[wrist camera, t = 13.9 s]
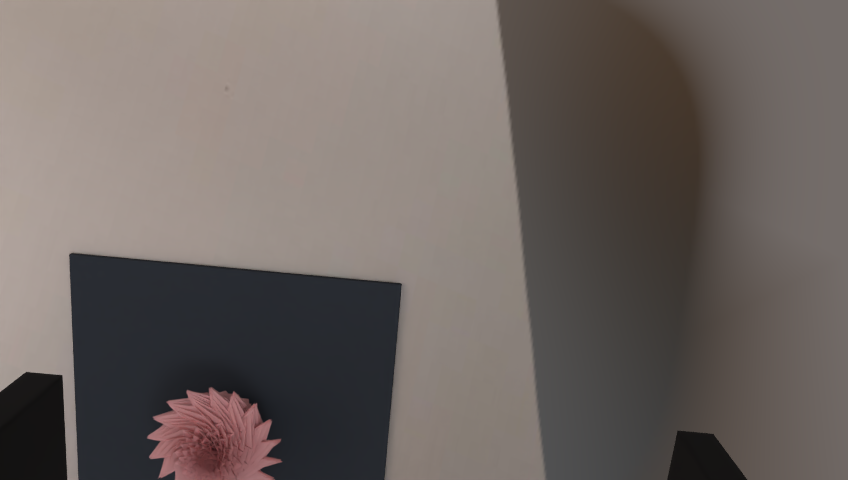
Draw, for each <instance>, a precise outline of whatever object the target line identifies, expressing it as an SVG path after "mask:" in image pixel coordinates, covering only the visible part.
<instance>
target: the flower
mask: <svg viewBox="0 0 848 480" xmlns="http://www.w3.org/2000/svg"><path fill="white" fill-rule="evenodd" d="M187 395H188V398H184V399H176V400H168V401H167V403H168V405H169V406H170V407H171V408H172V409H173V411H170V412H166V413H163V414H160V415H157V416H154V417H153V418H154V420H156V421H158V422H160V423H162V424H163V425H162V426H161V427H160V428H159V429H157V430H156V431H154V432H153V433H151V434H150V435H148V437H147V439H152V440H157V441H160V443H159V444H158V445H157V447H156V448H155V449H154V451H153V452H152V454H151V455H150V456H149V458H150V459H157V458H164V461H163V465H162V468H161V472H160V475H159V478H160V477H161V478H162V477H164V476H166V475H168V474H170V473H172V472H174V471H175V480H275V479H273V478H274V477H272V476H270V475H268V474H265V473H263V472H262V471H261V470H260V469H262V468H263V467H266V466H270V465H273V464H277V463H280V462H282V461H281V459H276V458H272V457H268V456H267V454H268V453H269V452H270V450H271V449H272V448H273V447H274V446H275V445H277V444H278V443H279V442H280V441H281V439H275V440H266V439H267V436H268V433H269V429H270V426H271V423H272V421H271V420H270V419H269V420H267V421H265V422H264V423H263V421H262V419H261V417H260V416H261V415H260V414H259V411H258V408H257V403H256V404H253V405H252V406H251V404H249V399H245V398H240V396H239V394H237V393H236V392H234V391H233V394H228V393H227V391H223V392H220V393H219V392H218V391H216V390H215V389H214V388H212V387H211V388H209V393H207V392H206V393H198V392H193V391H189V390H187Z"/></svg>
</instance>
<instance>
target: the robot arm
mask: <svg viewBox="0 0 848 480" xmlns="http://www.w3.org/2000/svg"><path fill="white" fill-rule="evenodd" d="M0 480H67V465H66V443H65V422H64V400H63V378H62V375H53V374H41V373H30V372H26V373H24V374H23V375H22V376H20V377H19V378H18V379H17V380H15V381H14V382H13V383H11V384H10V385H9V386H7V387H6V388H5V389H4V390H2V391H1V392H0ZM668 480H747V479H746V477H745V476H744V475H743V473H742V472H741V471H740V469H739V468H738V467H737V465H736V464H735V463H734V461H733V460H732V459H731V457H730V456H729V455H728V453H727V452H726V451H725V449H724V448H723V447H722V445H721V444H720V443H719V441H718V440H717V439H716V437H715V436H714V434H708V433H697V432H686V431H678V432H677V436H676V441H675V446H674V451H673V455H672V460H671V465H670V470H669V475H668Z"/></svg>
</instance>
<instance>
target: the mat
mask: <svg viewBox="0 0 848 480" xmlns="http://www.w3.org/2000/svg"><path fill="white" fill-rule="evenodd" d="M69 257H70V282H71V306H72V330H73V354H74V379H75V403H76V427H77V451H78V476H79V480H175V471H174V472H172V473H170V474H168V475H166V476H164V477H162V478H161V477H160V478H159V475H160V472H161V468H162V465H163V461H164V458H157V459H150V458H149V456H150V455H151V454H152V452H153V451H154V449H155V448H156V447H157V445H158V444H159V443H160V441H157V440H152V439H147V437H148V435H150V434H151V433H153V432H154V431H156V430H157V429H159V428H160V427H161V426H162V425H163V424H162V423H160V422H158V421H156V420H154V418H153V417H154V416H157V415H160V414H163V413H166V412H170V411H173V409H172V408H171V407H170V406H169V405H168V403H167V401H168V400H176V399H184V398H188V395H187V390H189V391H193V392H198V393H206V392H207V393H209V388H211V387H212V388H214V389H215V390H216V391H218V392H219V393H220V392H223V391H227V393H228V394H233V391H234V392H236V393H237V394H239V396H240V398H245V399H249V404H251V406H252V405H253V404H256V403H257V408H258V411H259V414H260V415H261V416H260V417H261V419H262V421H263V423H264V422H265V421H267V420H269V419H270V420H271V421H272V423H271V426H270V429H269V433H268V436H267V439H266V440H275V439H281V441H280V442H279V443H278V444H277V445H275V446H274V447H273V448H272V449H271V450H270V452H269V453H268V454H267V456H268V457H272V458H276V459H281V461H282V462H280V463H277V464H273V465H270V466H266V467H263V468H262V469H260V470H261V471H262V472H263V473H265V474H268V475H270V476H272V477H274V478H273V479H275V480H384V476H385V465H386V454H387V443H388V432H389V420H390V409H391V398H392V387H393V375H394V364H395V353H396V342H397V331H398V319H399V308H400V297H401V286H402V284H400V283H389V282H378V281H367V280H356V279H345V278H335V277H324V276H313V275H302V274H291V273H280V272H270V271H259V270H248V269H237V268H226V267H215V266H205V265H194V264H183V263H172V262H161V261H150V260H139V259H129V258H118V257H107V256H96V255H85V254H74V253H71V254H70V255H69Z"/></svg>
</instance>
